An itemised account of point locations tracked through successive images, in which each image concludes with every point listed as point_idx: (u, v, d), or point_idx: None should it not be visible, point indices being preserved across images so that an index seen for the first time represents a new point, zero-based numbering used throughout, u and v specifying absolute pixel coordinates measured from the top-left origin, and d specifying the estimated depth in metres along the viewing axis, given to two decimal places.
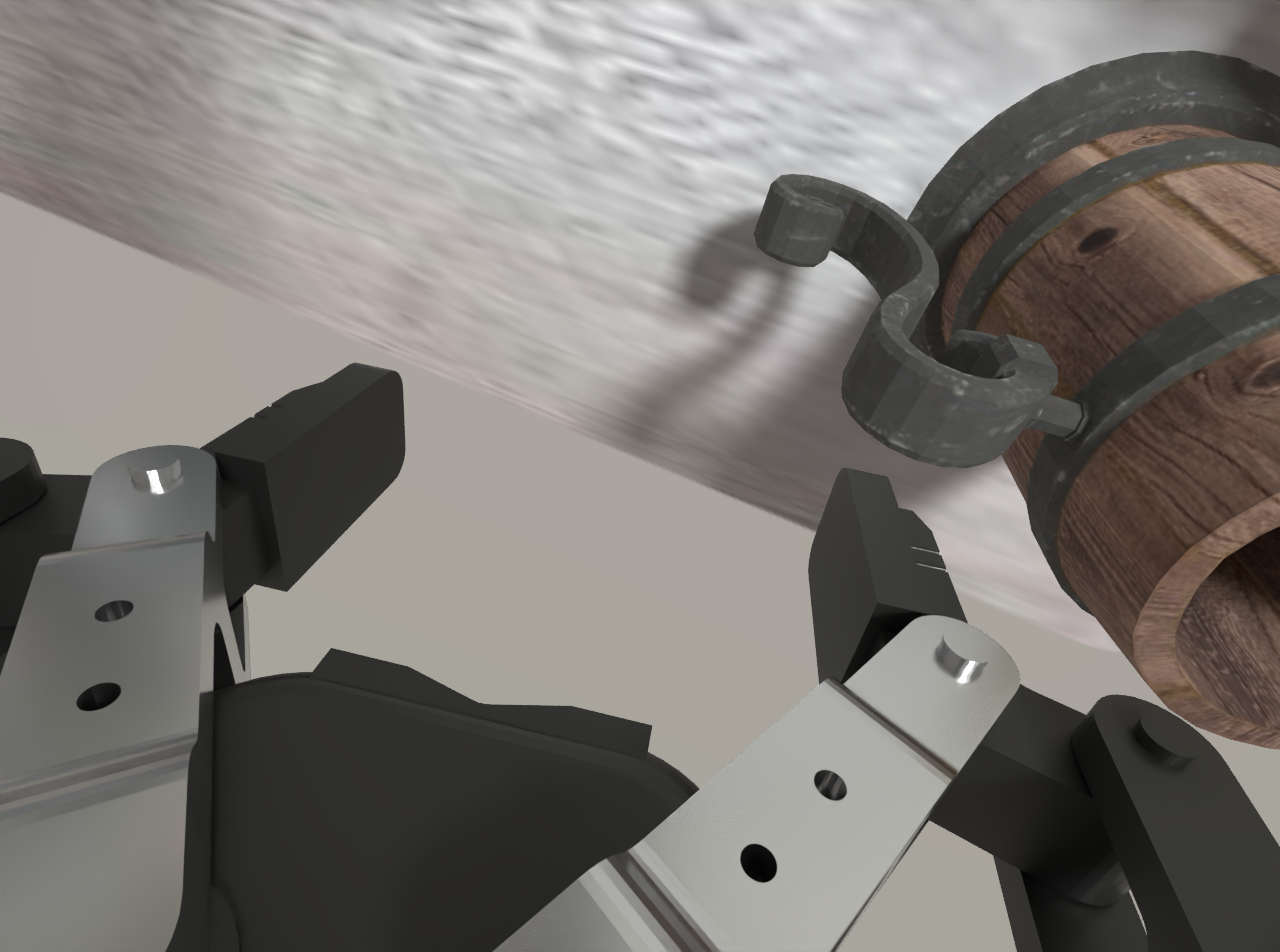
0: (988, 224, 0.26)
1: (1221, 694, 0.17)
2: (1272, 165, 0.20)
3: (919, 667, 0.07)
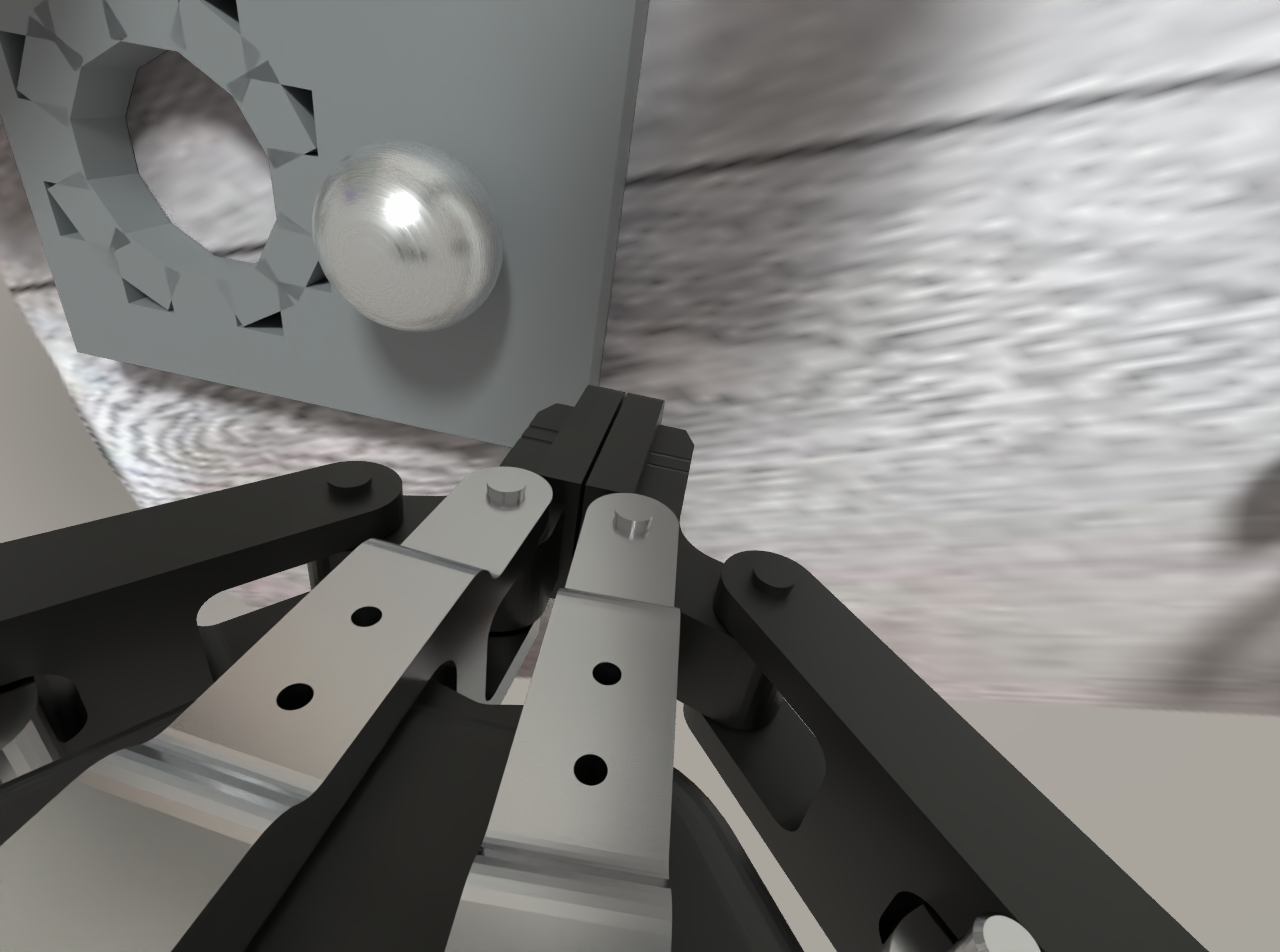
0: None
1: None
2: None
3: (610, 544, 0.08)
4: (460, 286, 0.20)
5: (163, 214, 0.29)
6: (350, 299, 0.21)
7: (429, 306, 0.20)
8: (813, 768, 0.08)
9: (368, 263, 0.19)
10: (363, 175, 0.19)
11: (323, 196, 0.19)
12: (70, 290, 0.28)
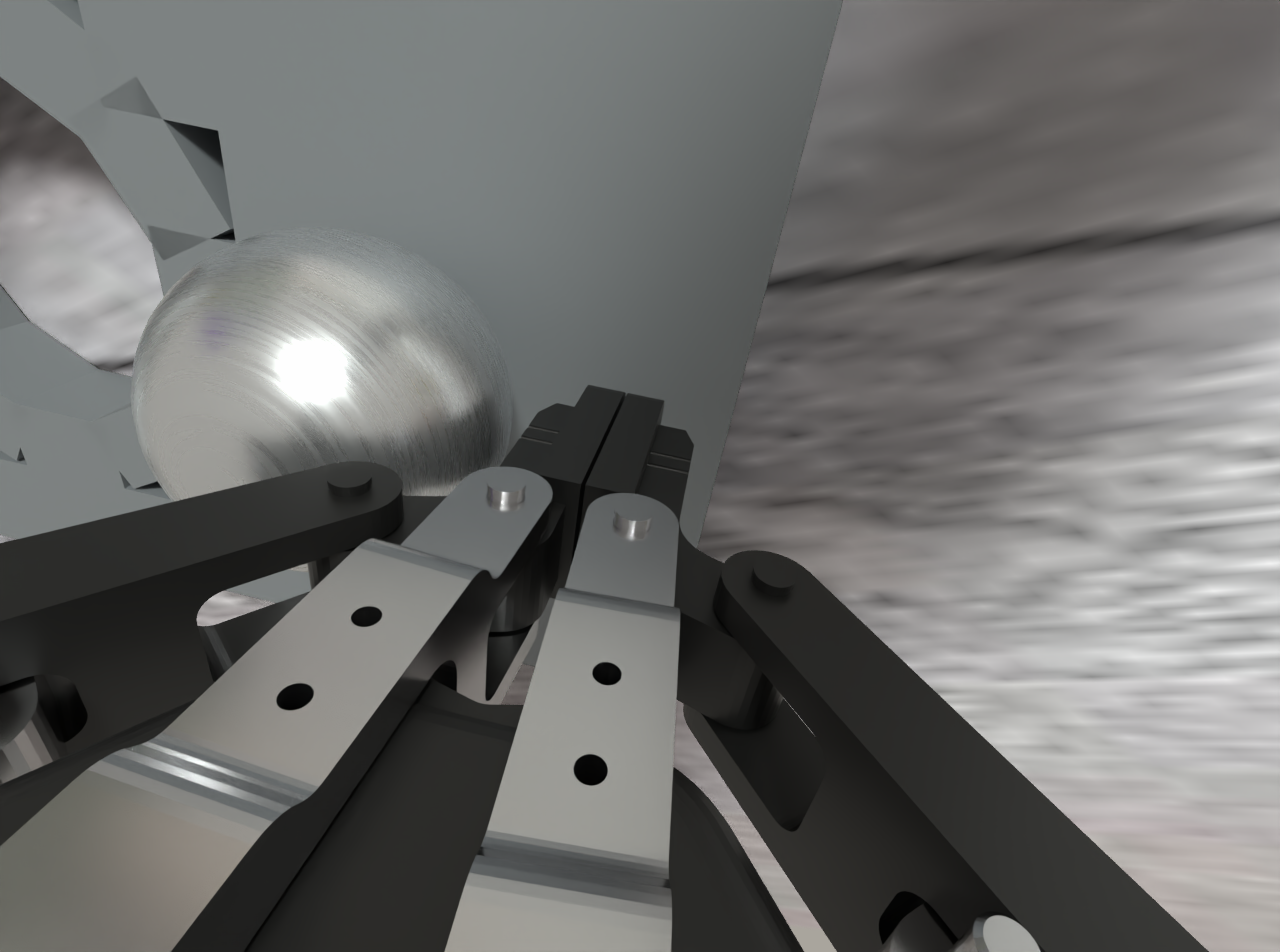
0: None
1: None
2: None
3: (610, 544, 0.08)
4: None
5: (15, 308, 0.18)
6: None
7: None
8: (813, 768, 0.08)
9: None
10: (212, 316, 0.09)
11: (140, 349, 0.09)
12: None
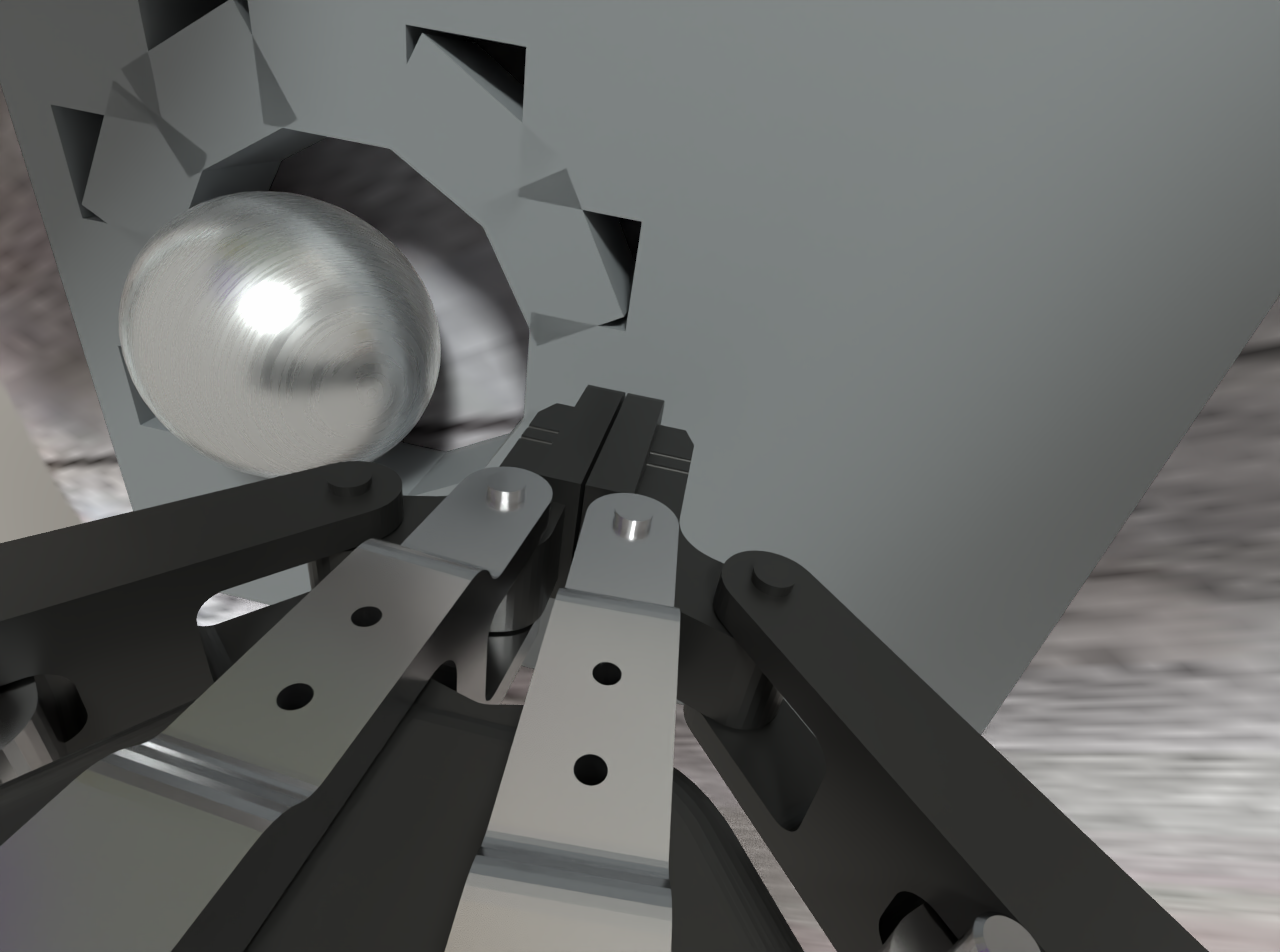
0: None
1: None
2: None
3: (610, 544, 0.08)
4: None
5: None
6: None
7: None
8: (813, 768, 0.08)
9: None
10: None
11: None
12: (150, 498, 0.18)
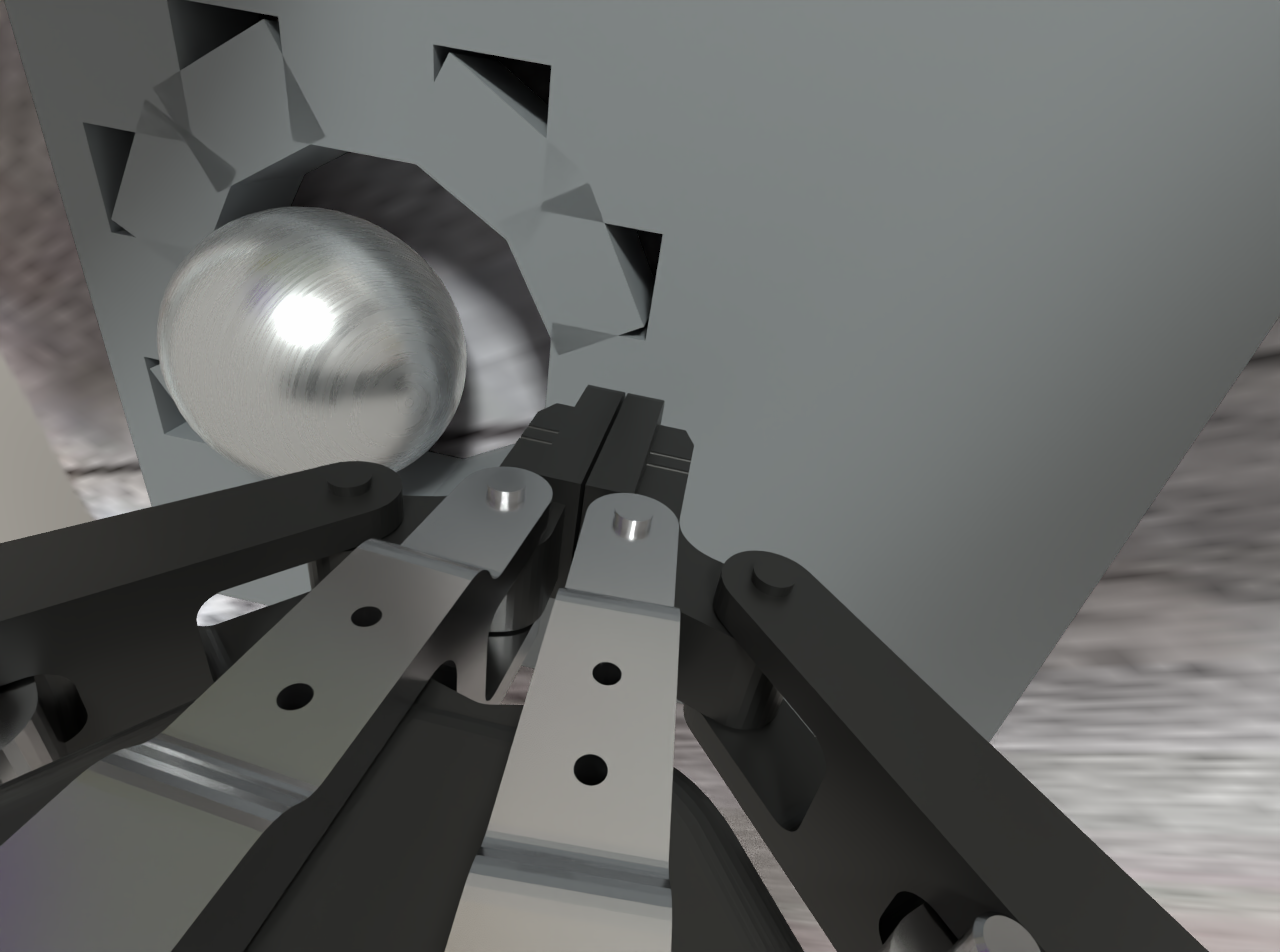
0: None
1: None
2: None
3: (610, 544, 0.08)
4: None
5: None
6: None
7: None
8: (813, 768, 0.08)
9: None
10: None
11: None
12: None
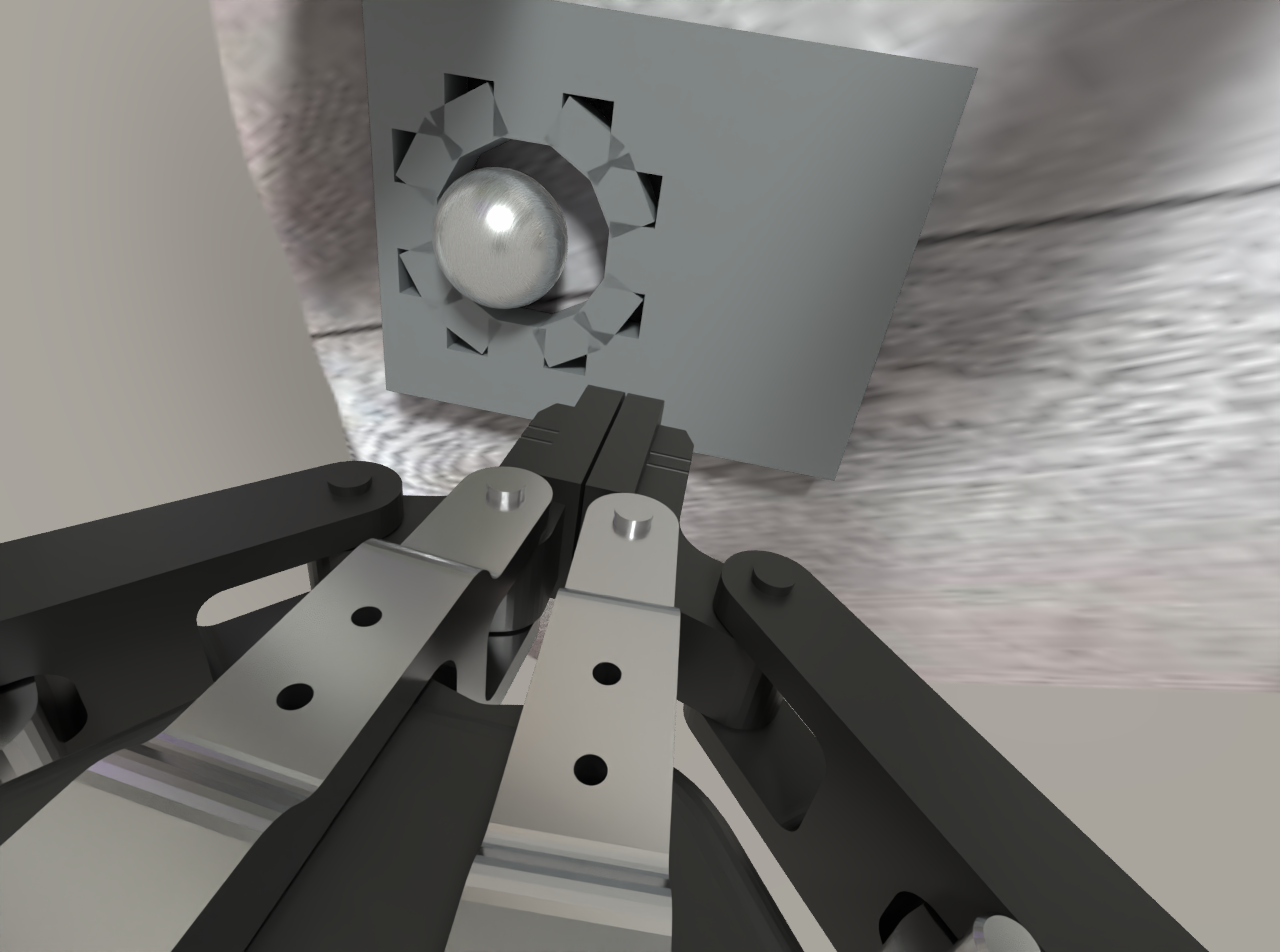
0: None
1: None
2: None
3: (610, 544, 0.08)
4: (434, 250, 0.28)
5: None
6: None
7: None
8: (813, 768, 0.08)
9: None
10: None
11: None
12: (395, 337, 0.33)
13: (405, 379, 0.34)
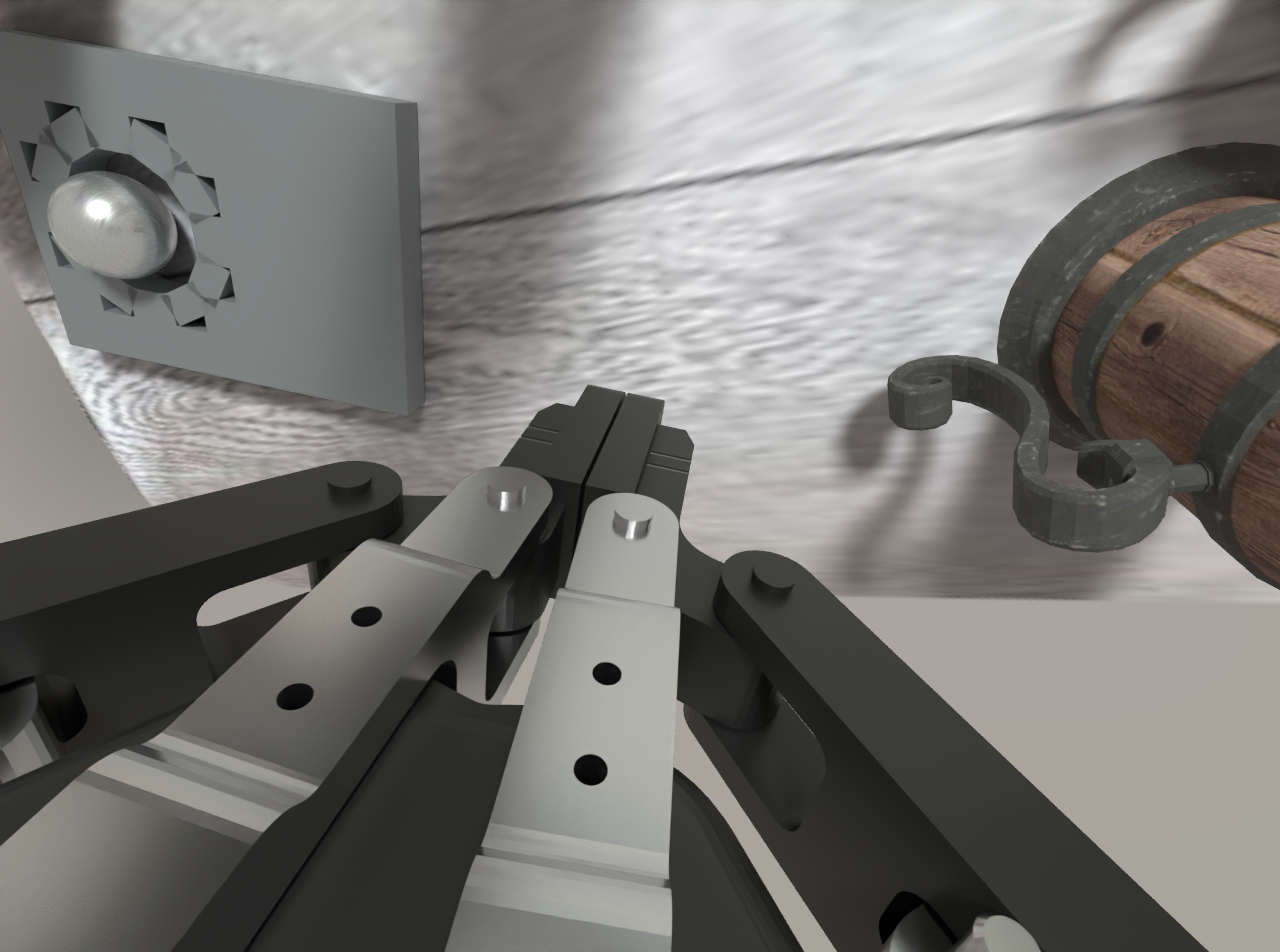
0: (1063, 333, 0.33)
1: None
2: (1259, 226, 0.26)
3: (610, 544, 0.08)
4: None
5: None
6: None
7: None
8: (813, 768, 0.08)
9: None
10: None
11: None
12: (65, 302, 0.42)
13: (81, 335, 0.43)
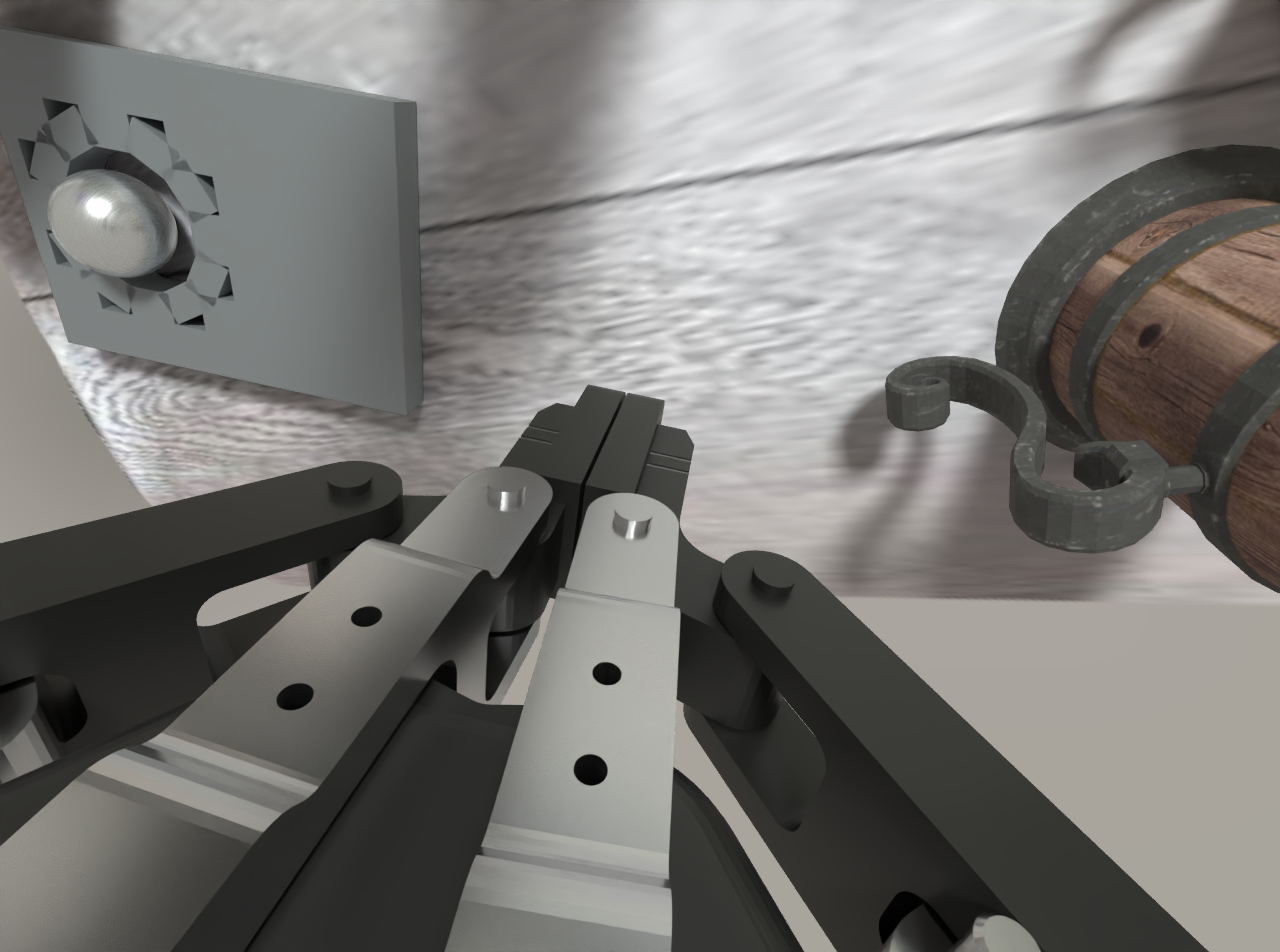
0: (1061, 334, 0.33)
1: None
2: (1256, 229, 0.26)
3: (610, 544, 0.08)
4: None
5: None
6: None
7: None
8: (813, 768, 0.08)
9: None
10: None
11: None
12: (63, 300, 0.42)
13: (79, 333, 0.43)
